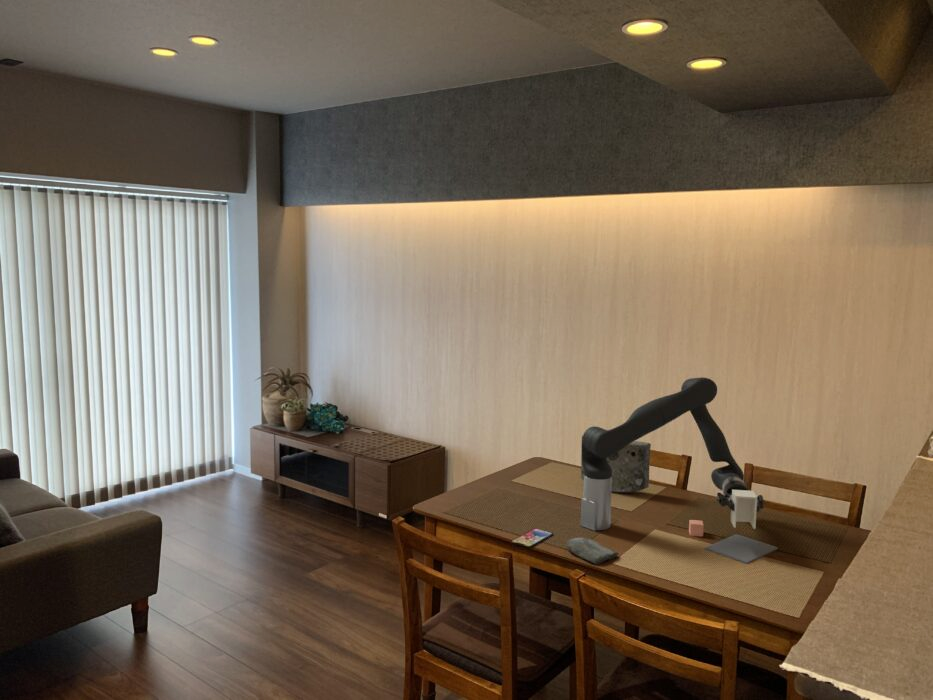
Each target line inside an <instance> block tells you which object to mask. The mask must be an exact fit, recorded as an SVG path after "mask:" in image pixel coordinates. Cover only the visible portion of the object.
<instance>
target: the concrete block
mask: <svg viewBox="0 0 933 700" xmlns="http://www.w3.org/2000/svg"><path fill="white" fill-rule="evenodd" d="M582 437H583V435H582V436H581V438H582ZM651 446H652V444H651V443H650V442H646V441H641V440H640V441H639V440H635V441H633V442H632V443H630V444H629V445H627V446H626V447H624V448H623V449H621V450H620V451H618V452H617V453H616V454H614V455H612V456H610V457H608V458H606V459H607V462H608V464H609V465H610V466H611V468H612V491H611V493H613V492H614V493H615V492H616V493H633V492H639V491H643V490H645V489H648V488H649V485H650V462H651V461H650V460H651ZM580 454H581V455H580V457H581V458H580V460H581V461H580V464H581V465H580V467H581V468H580V478H581V480H582V481H583V482H584V469H583V466H582V448H581V453H580Z"/></svg>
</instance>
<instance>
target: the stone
mask: <svg viewBox="0 0 933 700" xmlns="http://www.w3.org/2000/svg"><path fill="white" fill-rule="evenodd" d="M565 545H566V548H567V549H568V551H570V552H571V553H573V554H574V555H576V556H577V557H579V558H581V559H583V560H585V561H588V562H590V563H593V564H595V566H598V565H601V564H602V563H604V562H606V561H608V560H613V559H615V558H616V557H617V556H618V555H619V552H618V551H615V550H614V549H611V548H608V547H606V546H603V545H601V543H600V542H598V541H596V540H594V539H592V538H587V537H575V538H571V539H568V540H567V541H566V543H565Z"/></svg>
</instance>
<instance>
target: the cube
mask: <svg viewBox="0 0 933 700" xmlns="http://www.w3.org/2000/svg"><path fill="white" fill-rule="evenodd" d="M688 521H689V522H688V532H689V536H691V537H704V528H705V527H704V526H705V525H704V522H703V520H698V519H689V520H688Z"/></svg>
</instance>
